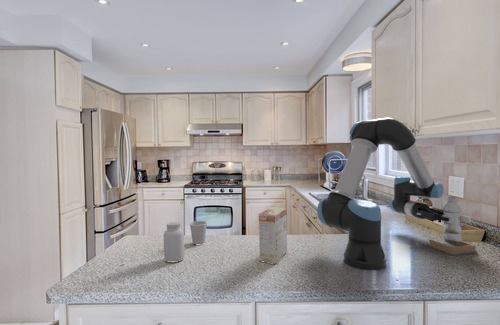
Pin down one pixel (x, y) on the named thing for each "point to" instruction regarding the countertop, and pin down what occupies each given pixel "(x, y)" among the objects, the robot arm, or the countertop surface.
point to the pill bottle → (173, 242)
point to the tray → (453, 247)
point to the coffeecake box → (272, 234)
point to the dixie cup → (198, 231)
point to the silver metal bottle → (450, 230)
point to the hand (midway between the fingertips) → (463, 220)
